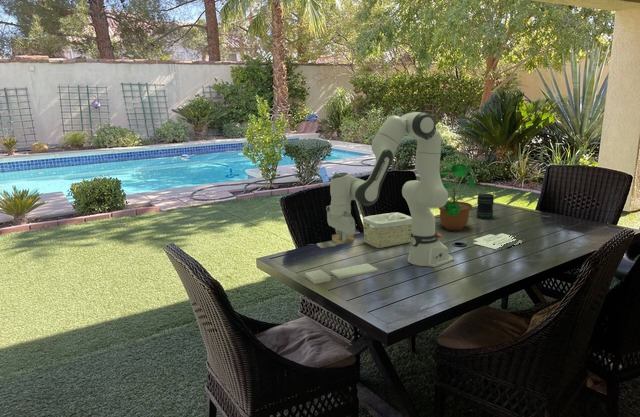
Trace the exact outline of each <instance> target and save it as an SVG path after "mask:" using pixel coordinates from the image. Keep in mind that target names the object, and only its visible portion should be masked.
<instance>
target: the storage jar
mask: <svg viewBox="0 0 640 417" xmlns="http://www.w3.org/2000/svg"><path fill="white" fill-rule="evenodd" d="M494 197H495V196H494V194H491V193H479V194H477V200H476V201H477V202H476V203H477V208H476V219H478V220H483V221H487V220H488V221H489V220H493V216H494V215H493V214H494V210H493V208H494V200H495V199H494Z"/></svg>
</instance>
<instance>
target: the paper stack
mask: <svg viewBox="0 0 640 417" xmlns="http://www.w3.org/2000/svg"><path fill="white" fill-rule="evenodd" d="M510 235H511V234H506V233H503V232H502V233H499V234H496V235H495V234H490V233H488V234H486V235H483V236H480V237H477V238H474V239H473V241H475V242H472V244H475V245H479V246H482V247H486V248H489V249H493V250H495V249H496V250H498V249H500V248H499V247H502V246H503V245H504V244H506V243H509V242H512V241H515V240H516V239H513V238H514V237H512V236H513V235H511V236H510ZM509 236H510V237H509ZM511 237H512V238H511ZM512 239H513V240H512ZM522 242H523V240H519V241H518V242H517V243H516V244H514V245H515V246H517V245H519V243H520V244H523V243H522ZM493 244H495V245H493ZM501 245H502V246H501ZM497 248H498V249H497Z"/></svg>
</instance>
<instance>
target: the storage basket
mask: <svg viewBox="0 0 640 417" xmlns="http://www.w3.org/2000/svg"><path fill="white" fill-rule="evenodd" d="M362 225H363V239H364V243H366V244H368V245H370V246H371V247H374V248H377V249H382V248H388V247H391V246H399V245H403V244H407V243H408V244H409V243H411V240H410V237H411V232H412V219H411V215H407V214H405V213H401V212H398V211H397V212H390V213H388V212H387V213H381V214H375V215H367V216H363V218H362Z"/></svg>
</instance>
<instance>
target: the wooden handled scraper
mask: <svg viewBox="0 0 640 417" xmlns="http://www.w3.org/2000/svg"><path fill="white" fill-rule="evenodd" d="M341 237H342V232H341V234H337V233H334V234H331V239H332V240H330V241H323V242H318V243H316V246H317V247H319V248H321V249H325V248H330V247H332V248H333V247H336V246H337V245H342V244H343V245H344V244H347V243H353V242H355V234H352V235H347V236H346V241H342V240H341Z"/></svg>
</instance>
